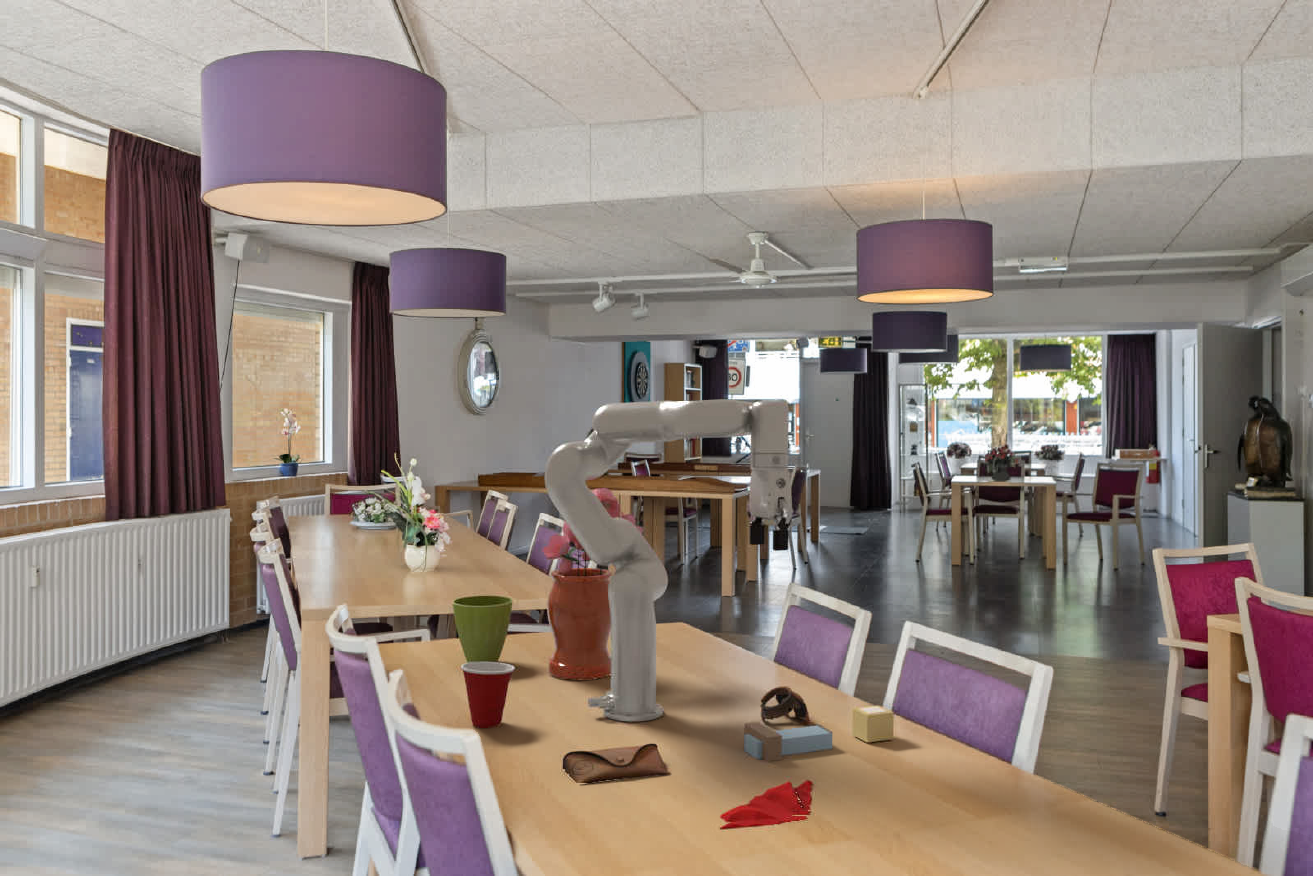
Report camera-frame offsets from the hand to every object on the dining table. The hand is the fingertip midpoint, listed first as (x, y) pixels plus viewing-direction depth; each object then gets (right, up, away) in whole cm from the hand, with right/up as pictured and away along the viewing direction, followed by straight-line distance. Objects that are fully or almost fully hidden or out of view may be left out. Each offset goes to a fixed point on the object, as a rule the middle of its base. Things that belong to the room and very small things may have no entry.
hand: (768, 547), depth 202 cm
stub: (+20, -37, -6) cm, 42 cm away
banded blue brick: (+2, -37, -14) cm, 39 cm away
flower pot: (-66, -35, +51) cm, 91 cm away
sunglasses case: (-29, -37, -26) cm, 54 cm away
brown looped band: (+4, -37, +5) cm, 37 cm away
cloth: (-4, -38, -42) cm, 56 cm away
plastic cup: (-57, -36, +1) cm, 67 cm away
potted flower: (-39, -36, +43) cm, 68 cm away
